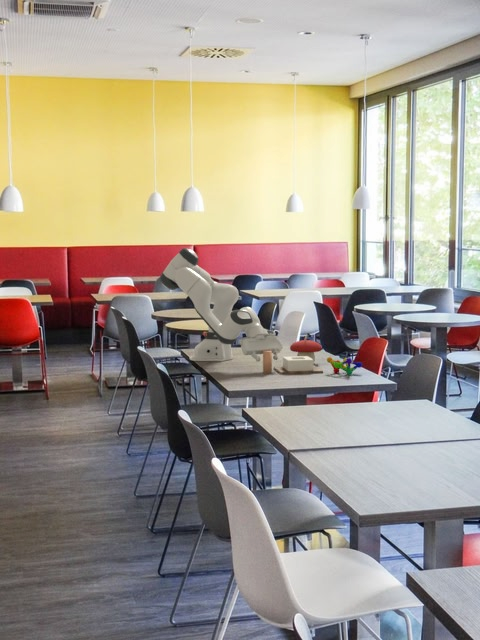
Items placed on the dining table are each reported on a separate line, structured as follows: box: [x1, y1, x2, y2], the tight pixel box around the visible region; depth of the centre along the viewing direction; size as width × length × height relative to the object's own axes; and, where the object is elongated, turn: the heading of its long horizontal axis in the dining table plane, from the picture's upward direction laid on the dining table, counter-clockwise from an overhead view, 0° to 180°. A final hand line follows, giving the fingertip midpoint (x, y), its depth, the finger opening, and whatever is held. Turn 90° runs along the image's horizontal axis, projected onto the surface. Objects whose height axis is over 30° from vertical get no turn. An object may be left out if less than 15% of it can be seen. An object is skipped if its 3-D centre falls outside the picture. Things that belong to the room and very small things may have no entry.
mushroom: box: [289, 332, 323, 362], centre depth 421 cm, size 16×16×15 cm
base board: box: [273, 365, 324, 375], centre depth 399 cm, size 20×16×1 cm
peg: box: [262, 351, 273, 374], centre depth 394 cm, size 4×4×10 cm
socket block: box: [282, 356, 315, 371], centre depth 399 cm, size 12×12×5 cm
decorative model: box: [326, 356, 363, 376], centre depth 389 cm, size 13×9×15 cm
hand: (267, 359), depth 394 cm, fingers open, 8 cm apart
